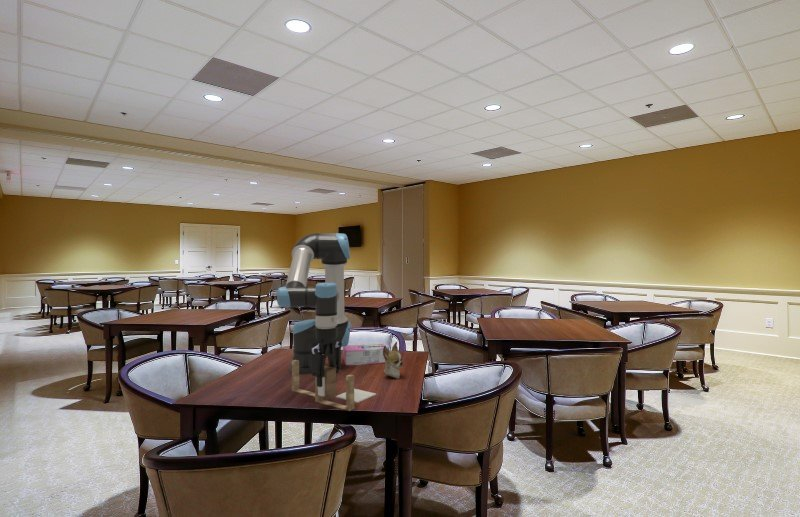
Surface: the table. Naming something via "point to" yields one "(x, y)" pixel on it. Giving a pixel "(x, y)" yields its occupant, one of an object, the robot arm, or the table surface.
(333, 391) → the walnut block
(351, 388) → the gate
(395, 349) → the ceramic sculpture
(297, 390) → the gate
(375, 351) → the gum box
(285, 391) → the table surface
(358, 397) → the pad
